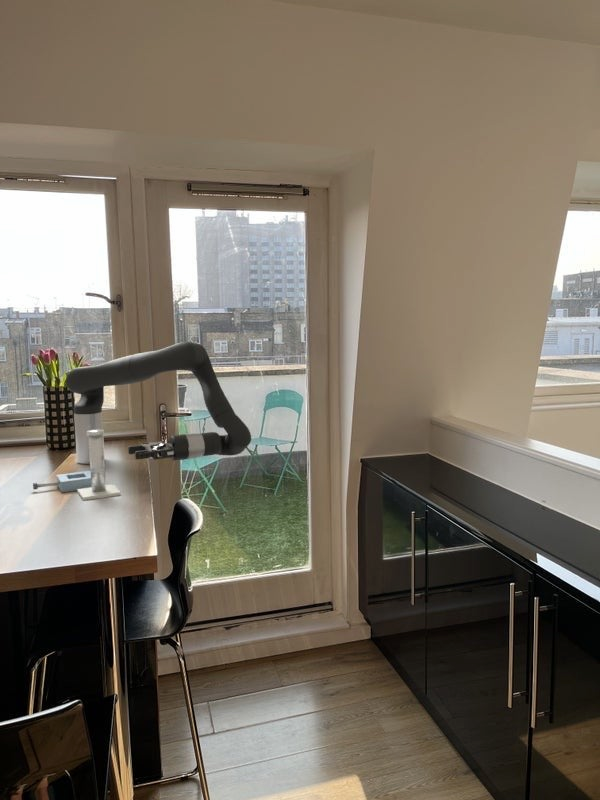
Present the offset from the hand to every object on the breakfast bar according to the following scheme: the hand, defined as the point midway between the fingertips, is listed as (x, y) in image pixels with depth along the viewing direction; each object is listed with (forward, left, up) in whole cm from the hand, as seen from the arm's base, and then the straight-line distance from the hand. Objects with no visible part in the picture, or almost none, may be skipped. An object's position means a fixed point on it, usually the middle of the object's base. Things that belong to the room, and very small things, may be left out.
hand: (131, 453), depth 178 cm
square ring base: (-12, -17, -10) cm, 24 cm away
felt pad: (0, -10, -10) cm, 14 cm away
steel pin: (0, -10, -10) cm, 14 cm away
